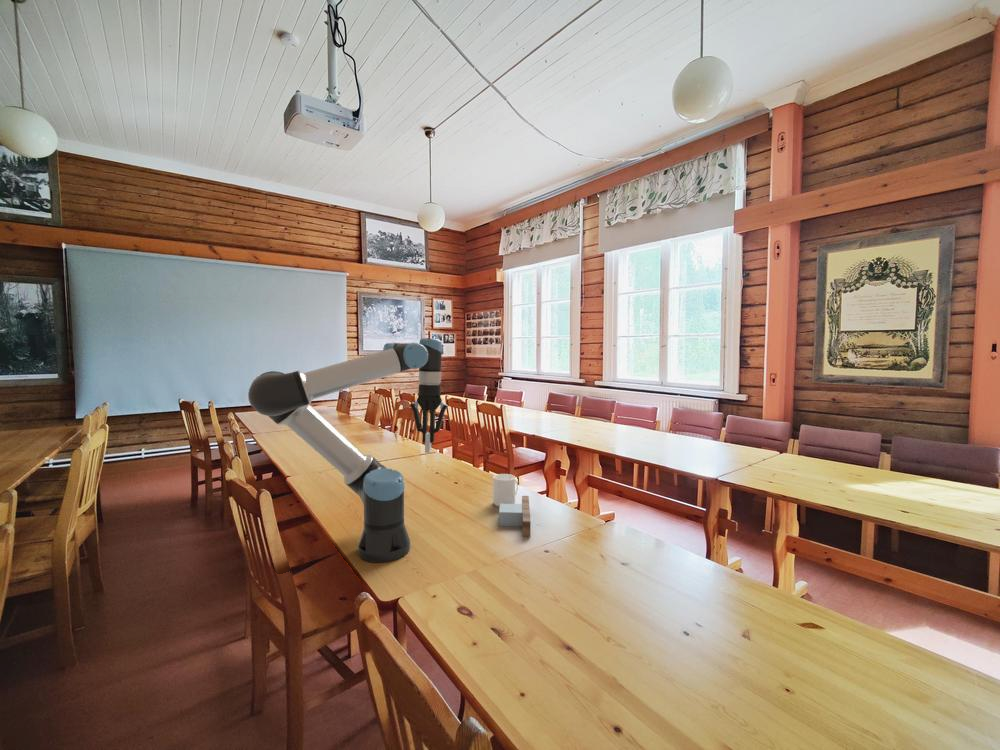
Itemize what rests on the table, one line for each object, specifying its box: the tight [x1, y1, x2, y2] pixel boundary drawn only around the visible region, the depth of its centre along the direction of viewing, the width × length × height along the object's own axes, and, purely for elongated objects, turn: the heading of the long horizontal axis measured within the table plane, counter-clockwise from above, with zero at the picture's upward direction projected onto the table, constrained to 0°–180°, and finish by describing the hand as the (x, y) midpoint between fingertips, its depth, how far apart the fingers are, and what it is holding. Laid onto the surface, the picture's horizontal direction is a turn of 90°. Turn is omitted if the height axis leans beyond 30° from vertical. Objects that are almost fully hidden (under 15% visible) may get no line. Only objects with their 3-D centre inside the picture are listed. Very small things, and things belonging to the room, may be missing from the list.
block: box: [498, 503, 522, 527], centre depth 150 cm, size 8×8×5 cm
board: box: [521, 495, 531, 537], centre depth 150 cm, size 24×2×5 cm, turn 178°
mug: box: [492, 473, 519, 508], centre depth 168 cm, size 9×12×11 cm
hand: (428, 451), depth 147 cm, fingers closed
